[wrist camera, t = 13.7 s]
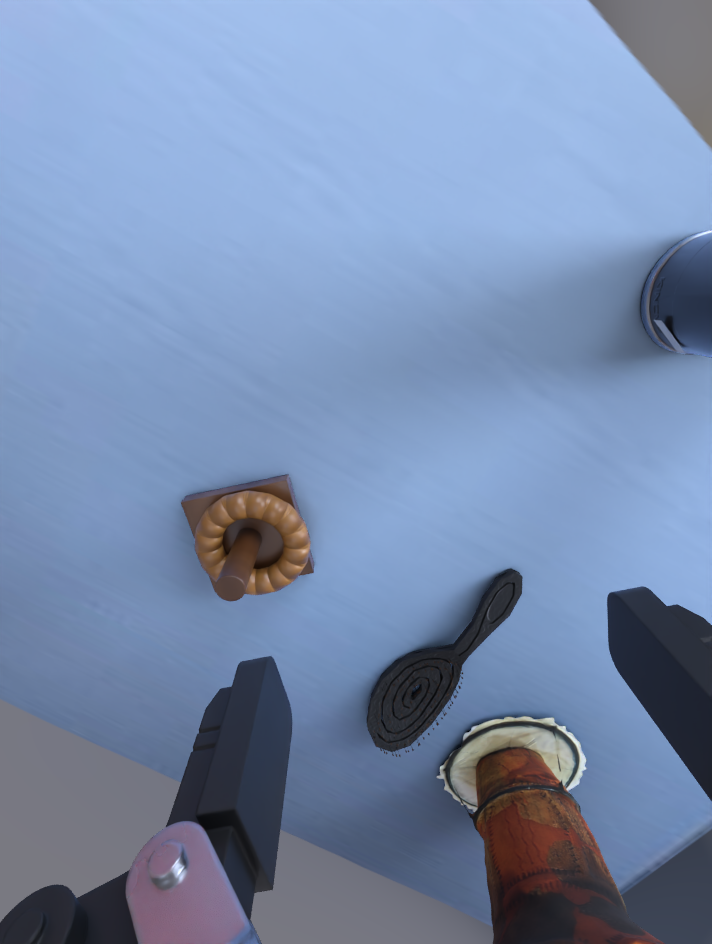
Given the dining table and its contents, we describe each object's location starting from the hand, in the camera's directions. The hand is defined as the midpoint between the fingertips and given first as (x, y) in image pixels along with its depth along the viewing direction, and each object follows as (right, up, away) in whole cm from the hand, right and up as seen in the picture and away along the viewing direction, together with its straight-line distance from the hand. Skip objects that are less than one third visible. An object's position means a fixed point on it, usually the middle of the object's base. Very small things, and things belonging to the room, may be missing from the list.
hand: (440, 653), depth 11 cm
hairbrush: (+8, -15, +41) cm, 44 cm away
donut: (-11, -2, +32) cm, 34 cm away
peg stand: (-12, -1, +35) cm, 37 cm away
